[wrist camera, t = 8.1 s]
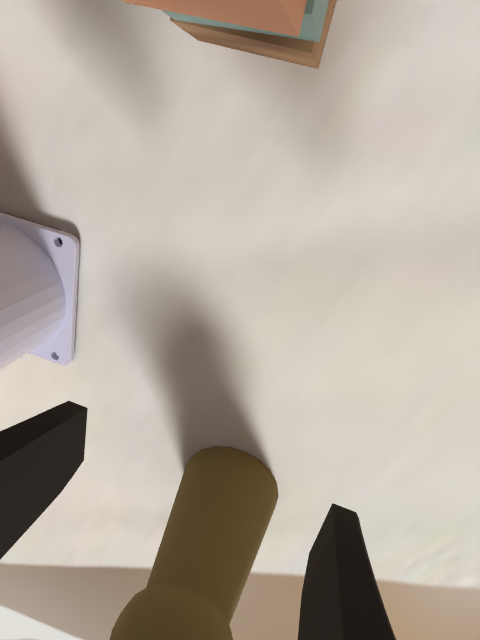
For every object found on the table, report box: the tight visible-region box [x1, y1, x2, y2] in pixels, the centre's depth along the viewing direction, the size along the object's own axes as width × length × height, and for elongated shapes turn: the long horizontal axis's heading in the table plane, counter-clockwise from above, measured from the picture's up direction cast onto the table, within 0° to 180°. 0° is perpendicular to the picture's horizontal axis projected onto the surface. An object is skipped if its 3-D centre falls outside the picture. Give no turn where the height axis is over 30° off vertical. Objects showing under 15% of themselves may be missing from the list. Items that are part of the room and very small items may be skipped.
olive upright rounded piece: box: [110, 447, 278, 640], centre depth 20 cm, size 6×6×11 cm
